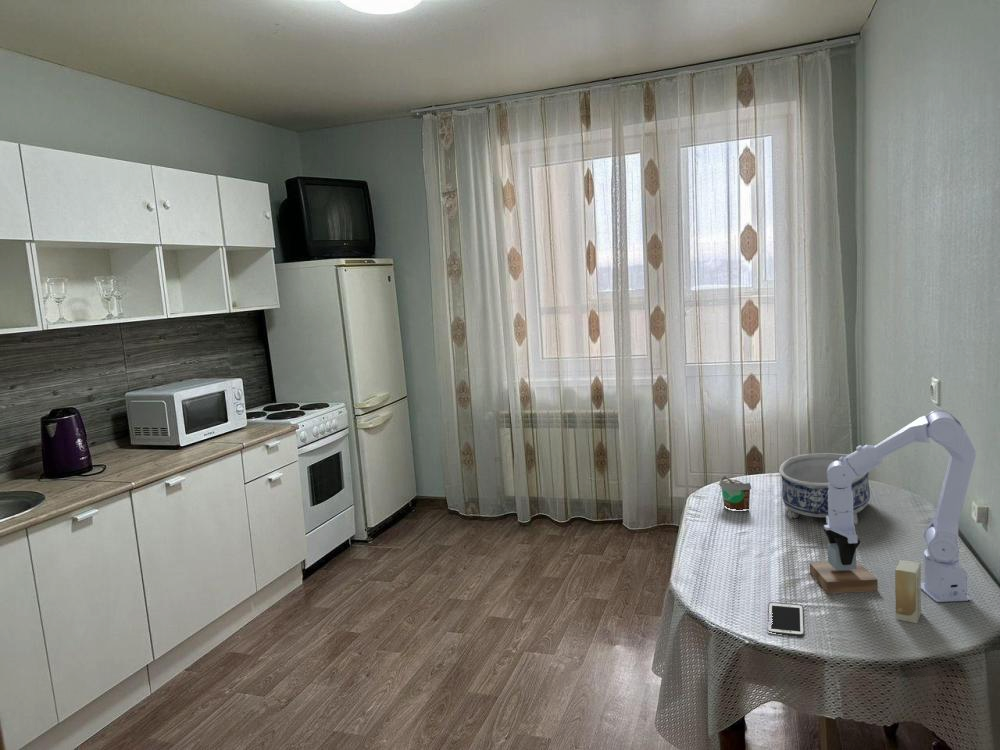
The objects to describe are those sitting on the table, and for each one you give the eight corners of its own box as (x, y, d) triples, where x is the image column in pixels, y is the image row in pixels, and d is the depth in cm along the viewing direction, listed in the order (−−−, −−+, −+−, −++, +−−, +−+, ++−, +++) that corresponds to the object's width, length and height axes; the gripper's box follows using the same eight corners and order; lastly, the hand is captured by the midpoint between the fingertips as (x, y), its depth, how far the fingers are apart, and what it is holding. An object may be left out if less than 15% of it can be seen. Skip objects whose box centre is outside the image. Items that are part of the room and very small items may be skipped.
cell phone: (803, 608, 168) (803, 604, 167) (804, 639, 154) (804, 635, 154) (768, 605, 171) (768, 601, 170) (767, 635, 157) (766, 631, 157)
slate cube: (856, 568, 175) (856, 550, 174) (836, 570, 175) (835, 551, 175) (847, 560, 180) (847, 542, 179) (828, 562, 180) (827, 543, 180)
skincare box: (900, 608, 163) (899, 558, 161) (921, 612, 160) (921, 562, 158) (894, 620, 158) (894, 568, 156) (916, 624, 155) (916, 572, 154)
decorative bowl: (866, 536, 205) (865, 487, 203) (771, 527, 219) (769, 481, 217) (873, 492, 241) (873, 450, 239) (791, 487, 255) (790, 447, 253)
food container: (712, 506, 242) (711, 478, 241) (726, 502, 245) (724, 475, 243) (738, 515, 231) (737, 486, 230) (752, 511, 233) (751, 483, 232)
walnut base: (877, 590, 172) (877, 579, 171) (827, 593, 173) (827, 582, 173) (856, 570, 184) (856, 559, 183) (809, 573, 185) (809, 562, 184)
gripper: (813, 500, 183) (815, 549, 185) (835, 519, 169) (837, 572, 171) (841, 498, 183) (842, 548, 184) (865, 517, 168) (867, 571, 170)
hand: (842, 559), depth 178 cm, fingers closed on slate cube, 5 cm apart
